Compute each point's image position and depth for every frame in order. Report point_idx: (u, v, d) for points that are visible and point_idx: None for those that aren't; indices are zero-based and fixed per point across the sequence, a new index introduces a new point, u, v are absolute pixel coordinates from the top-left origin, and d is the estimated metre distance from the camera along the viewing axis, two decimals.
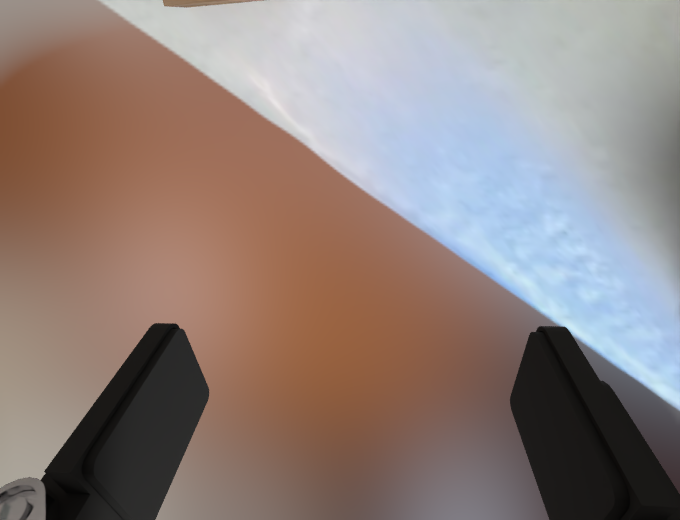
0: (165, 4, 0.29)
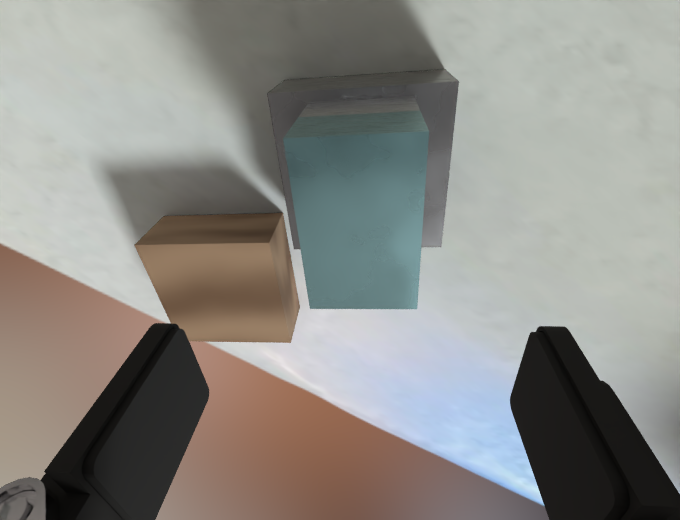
0: None
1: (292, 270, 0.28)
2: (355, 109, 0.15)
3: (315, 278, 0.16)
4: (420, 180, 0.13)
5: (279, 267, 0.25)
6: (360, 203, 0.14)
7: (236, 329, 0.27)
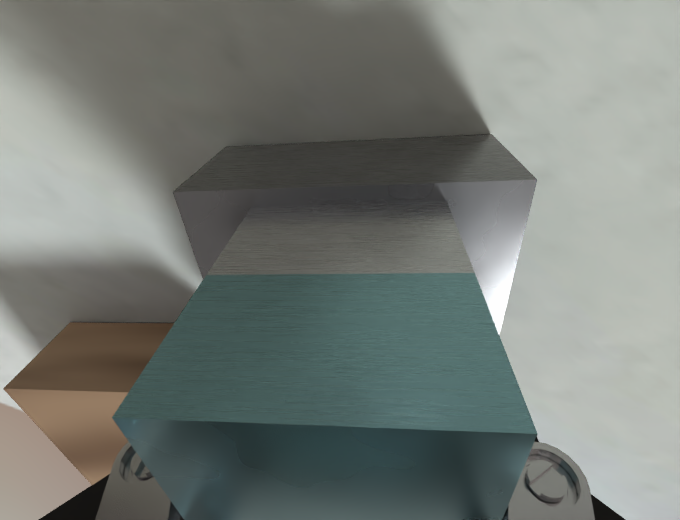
0: None
1: None
2: (331, 251, 0.07)
3: None
4: (493, 506, 0.05)
5: None
6: None
7: None
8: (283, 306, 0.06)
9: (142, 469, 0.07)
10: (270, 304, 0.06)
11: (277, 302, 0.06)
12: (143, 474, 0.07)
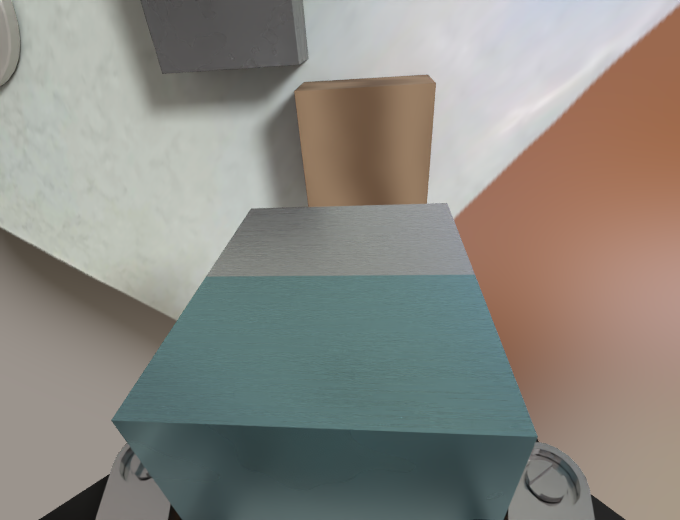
0: None
1: (371, 78, 0.26)
2: (331, 252, 0.07)
3: None
4: (493, 508, 0.05)
5: (335, 86, 0.24)
6: None
7: (410, 148, 0.25)
8: (283, 308, 0.06)
9: (142, 469, 0.07)
10: (270, 306, 0.06)
11: (277, 304, 0.06)
12: (143, 474, 0.07)
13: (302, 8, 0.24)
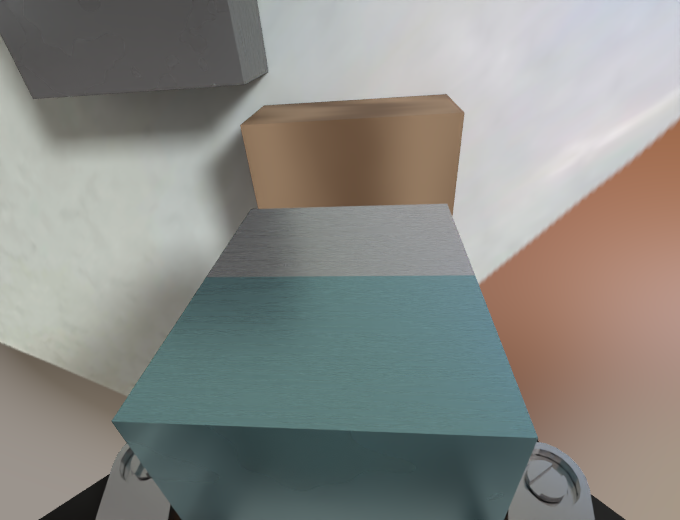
0: None
1: (362, 100, 0.18)
2: (331, 253, 0.07)
3: None
4: (493, 509, 0.05)
5: (305, 116, 0.15)
6: None
7: None
8: (283, 309, 0.06)
9: (142, 469, 0.07)
10: (270, 307, 0.06)
11: (277, 305, 0.06)
12: (143, 474, 0.07)
13: None
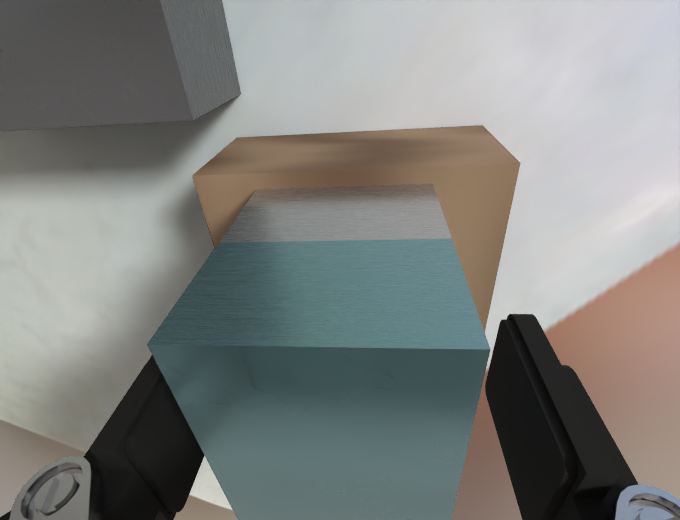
0: None
1: (367, 132, 0.13)
2: (328, 223, 0.08)
3: None
4: (461, 423, 0.06)
5: (286, 161, 0.11)
6: (332, 446, 0.07)
7: None
8: (286, 265, 0.07)
9: (50, 504, 0.06)
10: (275, 264, 0.07)
11: (281, 262, 0.07)
12: (51, 508, 0.06)
13: None
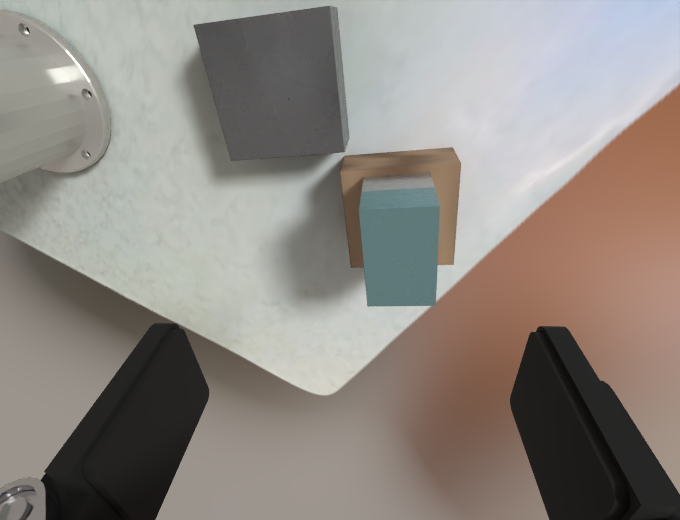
0: (452, 263, 0.31)
1: (403, 152, 0.30)
2: (395, 185, 0.26)
3: (372, 287, 0.26)
4: (435, 230, 0.23)
5: (374, 165, 0.28)
6: (401, 243, 0.24)
7: None
8: (386, 195, 0.24)
9: None
10: (382, 195, 0.24)
11: (384, 194, 0.24)
12: None
13: (345, 100, 0.28)
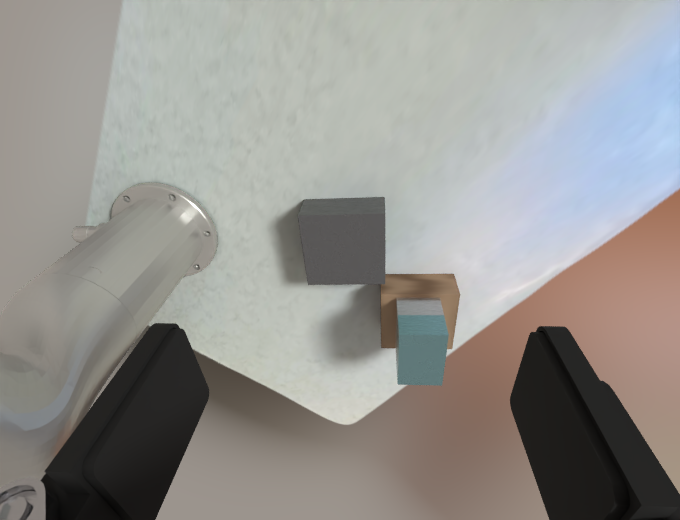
0: (451, 348, 0.46)
1: (420, 275, 0.45)
2: (418, 310, 0.40)
3: (402, 374, 0.41)
4: (445, 347, 0.38)
5: (402, 289, 0.43)
6: (423, 352, 0.38)
7: None
8: (414, 320, 0.39)
9: None
10: (411, 320, 0.39)
11: (412, 320, 0.39)
12: None
13: None
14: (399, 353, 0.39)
